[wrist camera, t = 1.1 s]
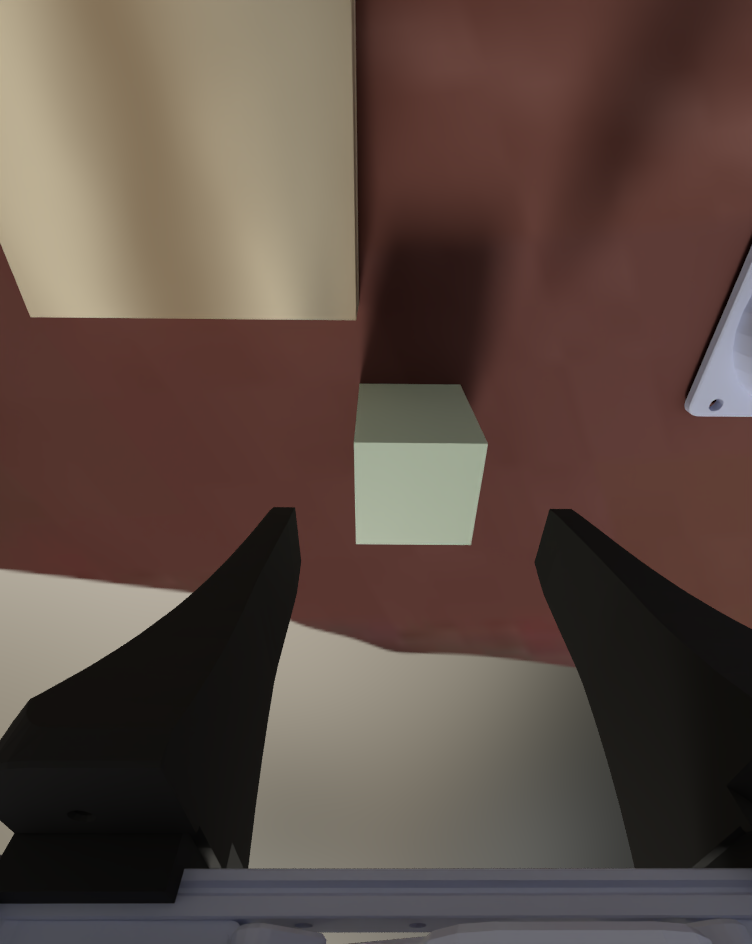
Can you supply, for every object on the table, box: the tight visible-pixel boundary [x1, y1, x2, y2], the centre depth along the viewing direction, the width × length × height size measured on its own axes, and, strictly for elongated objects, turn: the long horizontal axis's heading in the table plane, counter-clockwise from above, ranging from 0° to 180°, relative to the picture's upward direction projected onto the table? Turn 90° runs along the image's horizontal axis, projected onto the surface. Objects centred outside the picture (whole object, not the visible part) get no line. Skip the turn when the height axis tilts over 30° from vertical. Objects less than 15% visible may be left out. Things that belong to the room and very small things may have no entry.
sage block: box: [354, 384, 488, 545], centre depth 16 cm, size 4×4×5 cm
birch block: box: [0, 0, 359, 320], centre depth 12 cm, size 10×10×3 cm
